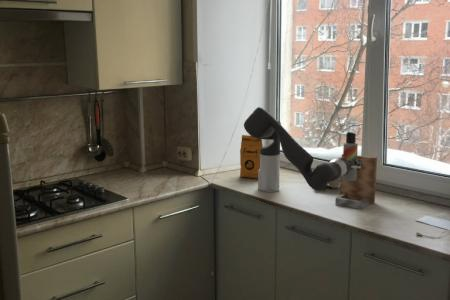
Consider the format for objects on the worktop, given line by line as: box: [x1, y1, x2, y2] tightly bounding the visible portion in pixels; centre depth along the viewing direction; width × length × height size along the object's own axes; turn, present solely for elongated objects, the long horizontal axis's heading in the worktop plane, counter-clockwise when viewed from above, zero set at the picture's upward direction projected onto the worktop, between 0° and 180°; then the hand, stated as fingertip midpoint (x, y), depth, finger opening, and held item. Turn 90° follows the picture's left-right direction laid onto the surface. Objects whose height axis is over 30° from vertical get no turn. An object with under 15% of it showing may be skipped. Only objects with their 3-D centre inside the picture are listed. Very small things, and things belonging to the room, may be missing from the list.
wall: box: [327, 179, 341, 189], centre depth 252 cm, size 16×9×15 cm
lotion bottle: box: [342, 131, 359, 181], centre depth 218 cm, size 6×6×20 cm
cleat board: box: [335, 153, 378, 210], centre depth 226 cm, size 15×12×20 cm
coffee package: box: [239, 134, 264, 180], centre depth 272 cm, size 10×12×22 cm
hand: (351, 160), depth 220 cm, fingers closed on lotion bottle, 5 cm apart
